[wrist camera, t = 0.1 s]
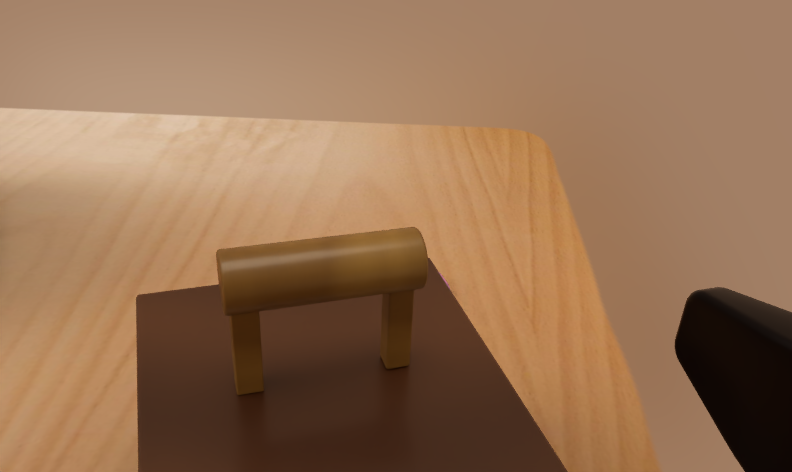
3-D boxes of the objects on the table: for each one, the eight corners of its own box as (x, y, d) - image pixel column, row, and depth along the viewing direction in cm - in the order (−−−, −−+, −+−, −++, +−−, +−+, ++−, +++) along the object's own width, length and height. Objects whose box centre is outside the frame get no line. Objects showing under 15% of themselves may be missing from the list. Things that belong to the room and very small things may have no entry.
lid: (139, 314, 23) (115, 173, 21) (428, 275, 26) (438, 145, 23) (147, 787, 12) (100, 604, 10) (650, 634, 15) (713, 459, 12)
